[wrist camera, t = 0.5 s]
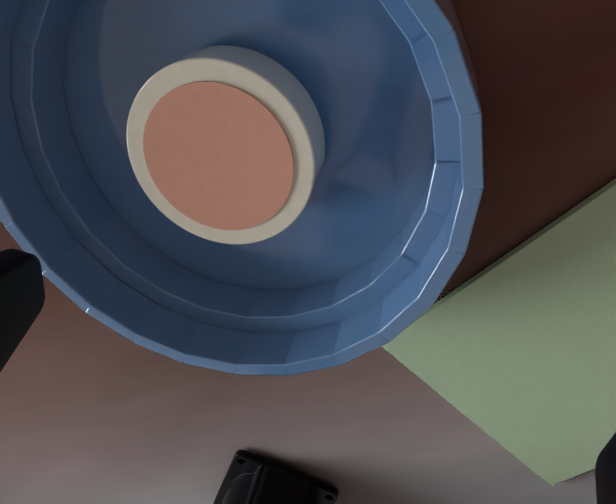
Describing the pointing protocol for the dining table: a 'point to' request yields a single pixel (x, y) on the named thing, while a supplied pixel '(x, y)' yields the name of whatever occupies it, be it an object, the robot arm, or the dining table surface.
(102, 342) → the dining table surface
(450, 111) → the blue bowl
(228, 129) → the cream dish
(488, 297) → the placemat
